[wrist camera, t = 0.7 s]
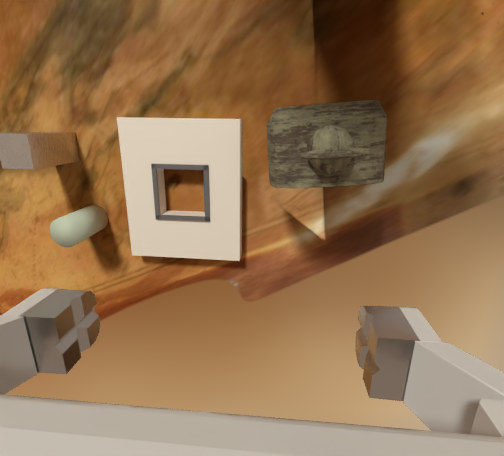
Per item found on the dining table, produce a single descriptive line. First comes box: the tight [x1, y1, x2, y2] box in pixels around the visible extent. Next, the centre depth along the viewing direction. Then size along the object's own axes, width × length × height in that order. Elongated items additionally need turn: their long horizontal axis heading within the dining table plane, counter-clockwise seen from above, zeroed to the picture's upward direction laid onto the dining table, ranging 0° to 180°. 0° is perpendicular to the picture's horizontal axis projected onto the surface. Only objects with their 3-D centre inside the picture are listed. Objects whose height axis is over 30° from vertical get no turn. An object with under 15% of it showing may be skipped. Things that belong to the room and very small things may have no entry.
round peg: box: [50, 205, 108, 247], centre depth 56 cm, size 5×5×9 cm
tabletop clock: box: [267, 100, 387, 188], centre depth 40 cm, size 14×9×25 cm, turn 94°
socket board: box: [117, 117, 242, 261], centre depth 55 cm, size 24×20×3 cm
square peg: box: [0, 132, 80, 169], centre depth 51 cm, size 5×5×11 cm
